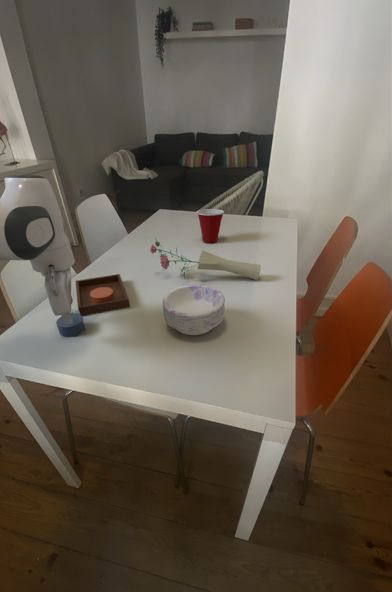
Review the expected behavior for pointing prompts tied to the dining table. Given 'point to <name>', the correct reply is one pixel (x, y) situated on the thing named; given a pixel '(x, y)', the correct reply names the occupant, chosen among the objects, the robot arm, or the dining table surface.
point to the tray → (93, 283)
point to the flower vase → (213, 263)
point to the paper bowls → (193, 309)
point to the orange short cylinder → (102, 295)
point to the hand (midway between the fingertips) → (69, 312)
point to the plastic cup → (210, 224)
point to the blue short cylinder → (71, 326)
